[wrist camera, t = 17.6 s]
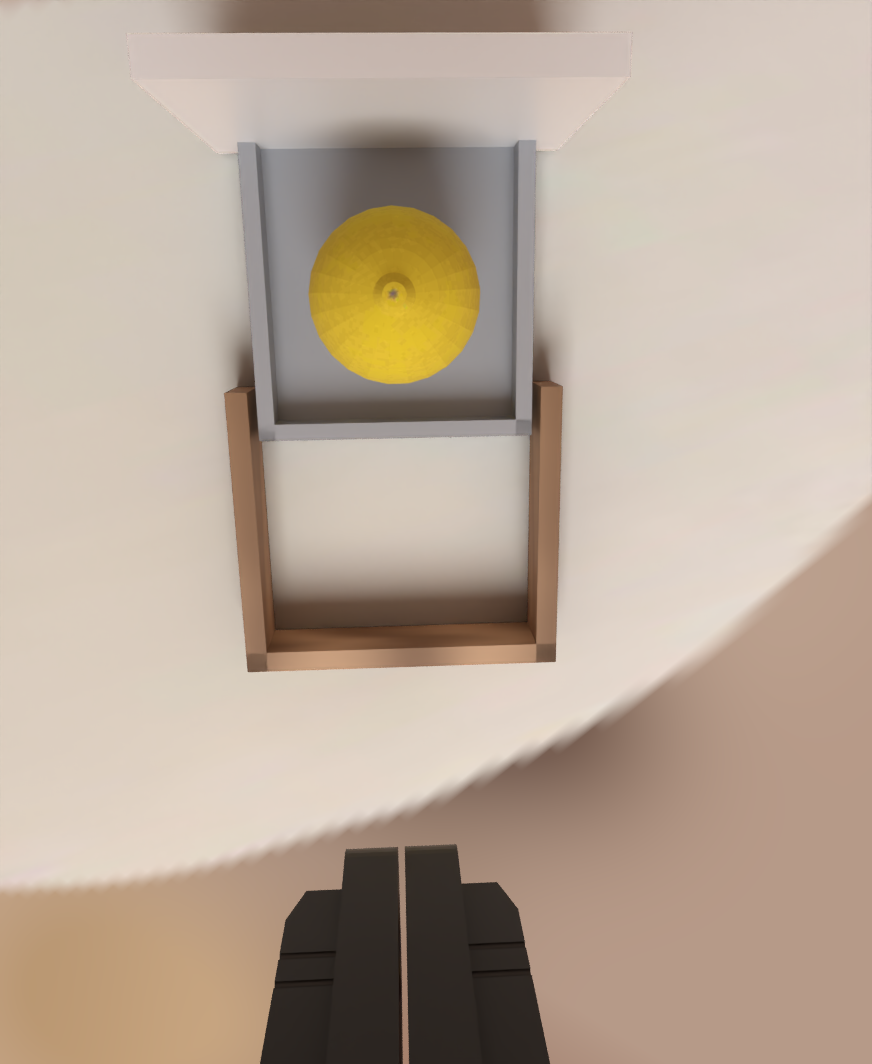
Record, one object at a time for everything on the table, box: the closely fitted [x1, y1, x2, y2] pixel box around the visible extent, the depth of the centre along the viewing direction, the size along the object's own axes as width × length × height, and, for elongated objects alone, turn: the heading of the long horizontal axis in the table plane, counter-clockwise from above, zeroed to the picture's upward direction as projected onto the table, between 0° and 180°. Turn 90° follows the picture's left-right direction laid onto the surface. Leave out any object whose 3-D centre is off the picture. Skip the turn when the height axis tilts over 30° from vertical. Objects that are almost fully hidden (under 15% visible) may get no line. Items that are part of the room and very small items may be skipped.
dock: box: [224, 381, 563, 672], centre depth 32 cm, size 12×11×2 cm
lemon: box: [308, 205, 480, 384], centre depth 26 cm, size 6×6×8 cm
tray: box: [126, 32, 632, 441], centre depth 26 cm, size 12×11×10 cm
